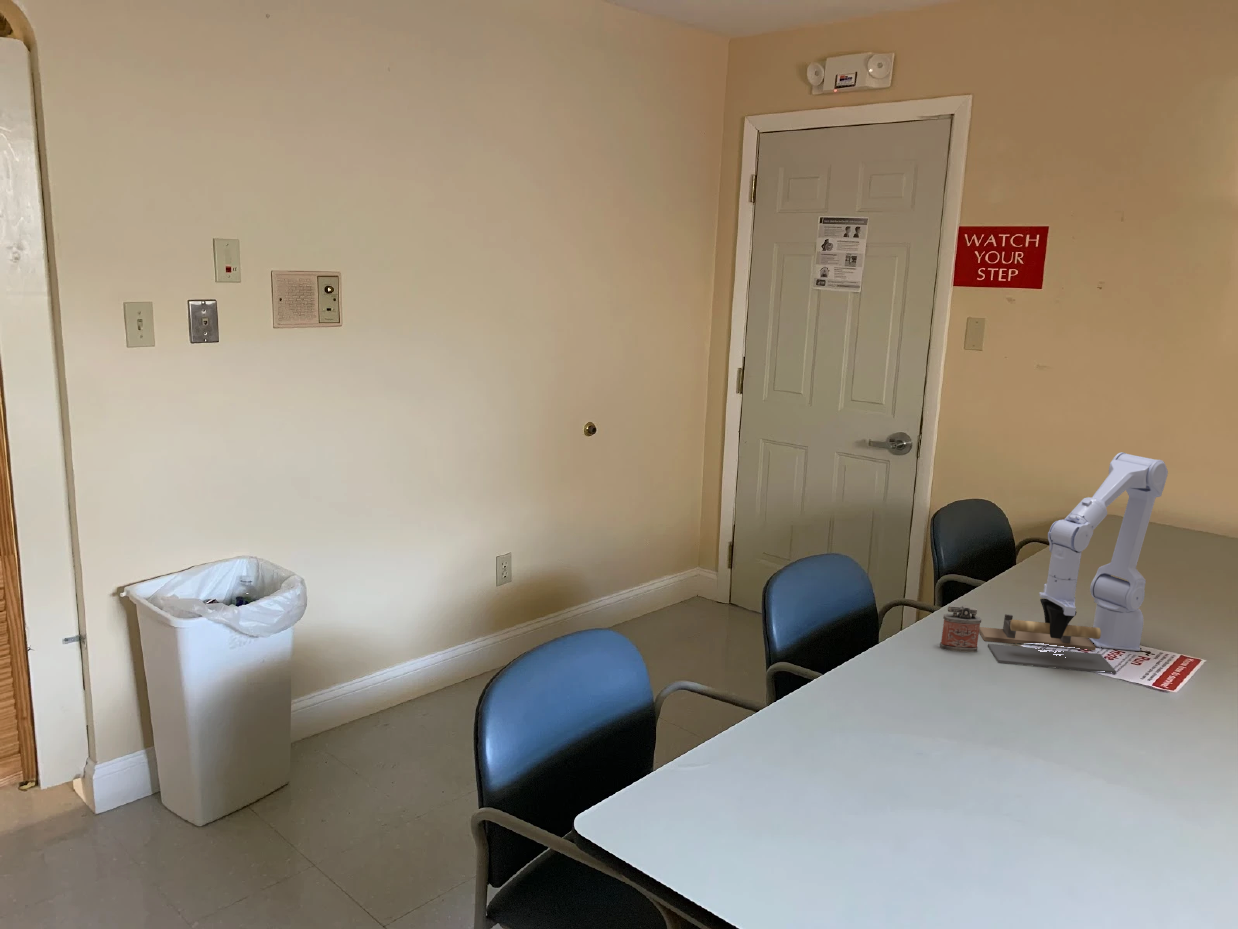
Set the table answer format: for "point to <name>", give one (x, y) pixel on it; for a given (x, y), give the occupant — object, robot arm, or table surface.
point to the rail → (1045, 629)
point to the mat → (1050, 658)
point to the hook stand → (1031, 637)
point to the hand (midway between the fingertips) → (1053, 635)
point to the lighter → (960, 629)
